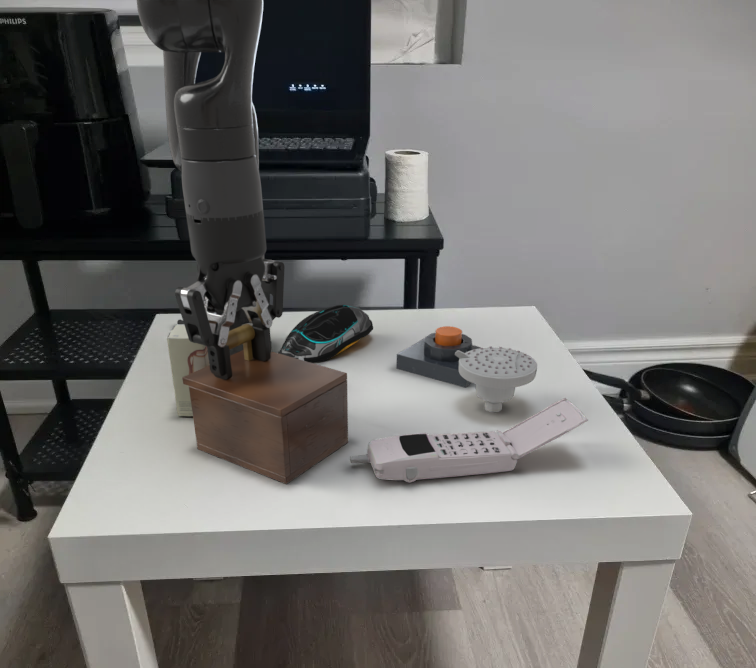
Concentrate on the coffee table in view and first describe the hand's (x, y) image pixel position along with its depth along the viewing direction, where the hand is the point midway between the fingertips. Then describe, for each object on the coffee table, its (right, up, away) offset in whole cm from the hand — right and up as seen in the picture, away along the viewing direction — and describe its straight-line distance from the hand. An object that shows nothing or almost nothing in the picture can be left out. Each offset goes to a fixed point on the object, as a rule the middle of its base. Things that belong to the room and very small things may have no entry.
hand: (242, 367), depth 82 cm
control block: (+25, +4, +22) cm, 33 cm away
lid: (+3, -2, -1) cm, 3 cm away
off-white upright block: (-8, -3, +11) cm, 14 cm away
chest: (+3, -8, +3) cm, 9 cm away
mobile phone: (+25, -11, 0) cm, 27 cm away
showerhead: (+29, -3, +12) cm, 32 cm away
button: (+25, +7, +20) cm, 33 cm away
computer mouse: (+7, +8, +28) cm, 30 cm away
